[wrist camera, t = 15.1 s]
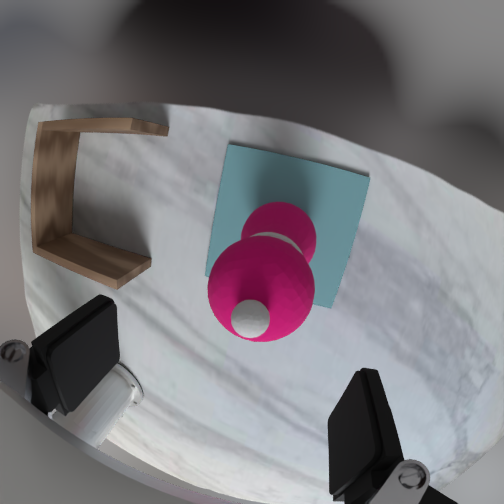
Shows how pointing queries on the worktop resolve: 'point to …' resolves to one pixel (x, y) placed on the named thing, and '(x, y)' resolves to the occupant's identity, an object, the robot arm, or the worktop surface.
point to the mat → (299, 194)
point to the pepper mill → (266, 275)
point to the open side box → (61, 201)
